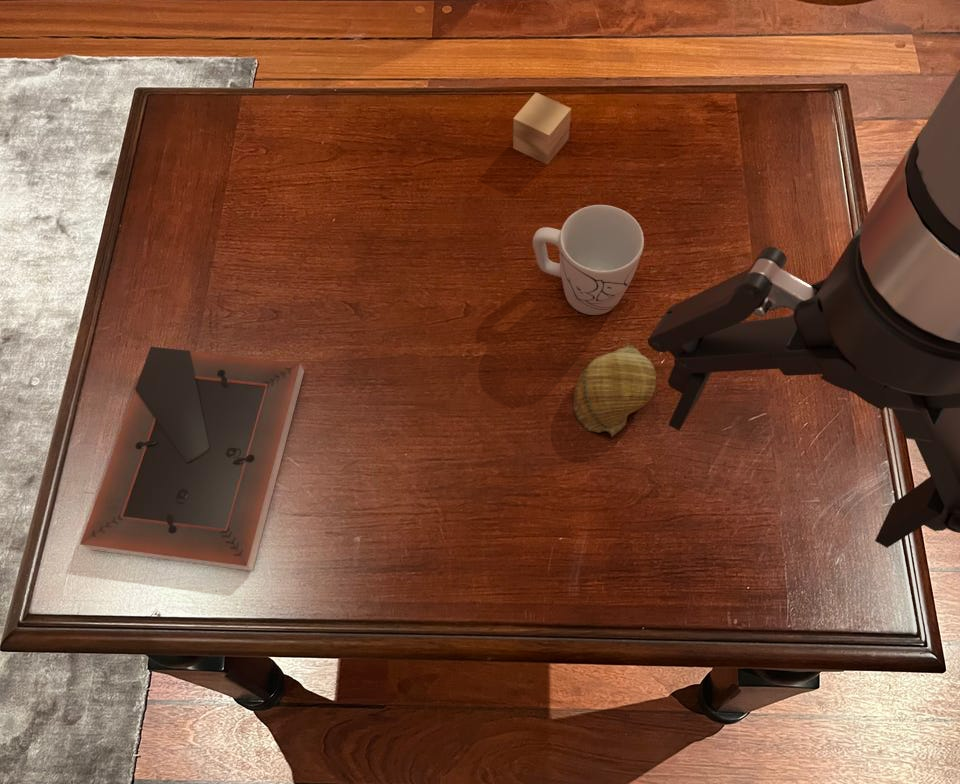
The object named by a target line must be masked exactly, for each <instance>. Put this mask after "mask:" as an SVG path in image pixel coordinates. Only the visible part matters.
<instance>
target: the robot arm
mask: <svg viewBox="0 0 960 784" xmlns="http://www.w3.org/2000/svg"><path fill="white" fill-rule="evenodd" d="M787 261H788V259H787V255H786V254H785V253H784V251H782V250H781V249H779V248H777V247H774V246H768V247H764V249H762V250H761V252H760V253H759V254H758V256H757V257H756V259H755V260H754V262H753V263H752V264H751V266H749V268H748V269H746V270H744V271H742V272H740V273H737V274H736V275H733V276H731V277H728V278H727V279H726V280H723V281H721V282H719V283H717V284H715V285H713V286H711V287H708V288H707V289H704V290H703V291H700V292H699V293H696V294H694V295H692V296H690V297H688V298H686V299H684V300H681V301H680V302H678V303H676V304H674V305H671V306H670V307H668V308H667V309H666V312H665V313H664V314H663V316H662V318H661V319H660V320H659V322H658V323H657V325H656V326H655V328H654V330H653V331H652V333H651V334H650V336H649V337H648V339H647V344H648V345H649V347H650V348H651V349H652V350H654V351H656V352H658V353H667V352H668V353H669V354H670V355H672V356H673V358H674V361H673V364H674V365H673V366H672V369H671V372H670V375H669V376H668V380H667V384H668V387H669V388H672V389H673V390H675V391H677V392H678V393H680V394H681V395H680V398H679V400H678V402H677V405H676V407H675V408H674V411H673V414H672V416H671V418H670V421H669V423H668V426H669V427H671V428H674V429H675V430H676V431H680V430H681V429H682V427H683V426H684V424H685V422H686V420H687V419H688V418H689V415H690V414H691V412H692V411H693V409H694V408H695V406H696V405H697V403H698V402H699V399H700V398H701V395H702V393H703V391H704V389H705V387H706V385H707V383H708V381H709V379H710V377H711V375H712V373H723V372H724V373H725V372H740V371H743V372H745V371H761V370H762V371H764V370H779V371H780V372H781V373H782V375H783V376H787V377H789V376H792V377H793V376H811V375H812V376H813V375H821V377H820V379H821V380H822V381H825V382H826V383H829V384H830V385H832V386H834V387H837V388H840V389H842V390H845V391H848V392H851V393H853V394H855V395H856V396H857V397H859V398H860V399H861V400H862V401H864V402H866V403H867V404H869V405H871V406H873V407H875V408H877V409H879V410H880V411H883V410H885V409H890V410H892V411H893V414H894V416H895V417H896V420H897V422H898V425H899V427H900V429H901V431H902V433H903V435H904V437H905V439H906V440H913V441H914V443H915V444H916V447H917V449H918V451H919V453H920V455H921V458H922V460H923V462H924V464H925V466H926V469H927V471H928V473H929V475H930V476H929V477H927V478H926V479H925V480H924V481H922V482H921V483H920V484H917V486H915V487H914V488H912V489H911V490H910V491H908V492H907V493H906V494H904V495H903V496H901V497H900V498H899V499H897V500H896V501H894V502H893V503H892V504H891V505H890V508H889V510H888V512H887V514H886V516H885V518H884V520H883V522H882V525H881V527H880V529H879V531H878V533H877V535H876V537H875V540H874V542H876V543H877V544H879V545H881V546H883V547H884V548H886V549H887V548H889V547H891V546H893V545H894V544H895V543H897V542H900V541H901V540H902V539H904V538H906V537H908V536H909V535H910V534H912V533H914V532H916V531H917V530H919V529H921V528H922V527H927V528H928V529H930V530H932V531H934V532H940V531H941V532H942V531H943V532H944V531H945V530H949V531H951V532H953V533H957V534H960V68H959V69H958V71H957V73H956V75H954V77H953V79H952V81H951V82H950V84H949V86H948V87H947V88H946V90H945V92H944V94H943V95H942V96H941V99H940V100H939V102H938V104H937V105H936V107H935V108H934V110H933V112H932V113H931V115H930V117H929V118H928V119H927V121H926V122H925V125H924V126H923V127H922V129H920V131H919V133H918V134H917V136H916V138H915V139H914V141H913V142H912V144H911V145H910V147H908V149H907V151H906V152H905V153H904V156H903V157H902V158H901V160H900V161H899V164H898V165H897V166H896V168H895V170H894V171H893V173H891V176H890V178H889V179H888V180H887V182H886V184H885V185H884V187H883V188H882V190H881V192H880V193H879V195H878V196H877V198H876V200H875V201H874V202H873V204H872V205H871V208H870V209H869V210H868V212H867V213H866V215H865V218H864V221H863V222H862V223H861V225H859V227H858V228H857V230H856V231H855V233H854V234H853V236H852V237H851V239H850V241H849V242H848V244H847V246H846V247H845V249H844V250H843V252H842V253H841V255H840V256H839V258H838V260H837V262H836V263H835V264H834V266H833V268H832V269H831V271H830V272H829V274H828V276H827V277H826V278H824V279H822V280H818V281H815V282H814V283H811V284H808V283H807V282H805V281H804V280H802V279H800V278H798V277H797V276H795V275H794V274H791V273H790V272H788V271H786V270H785V269H783V268H784V267H785V265H786V263H787ZM780 308H786V309H790V310H792V311H793V313H792V314H791V315H789V316H784V317H783V316H782V317H773V318H767V319H759V320H750V321H745V320H747V319H748V318H749V317H750V316H752V315H753V314H754V315H755V316H756V317H765V316H766V314H767V313H768V311H775V310H777V309H780Z"/></svg>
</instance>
